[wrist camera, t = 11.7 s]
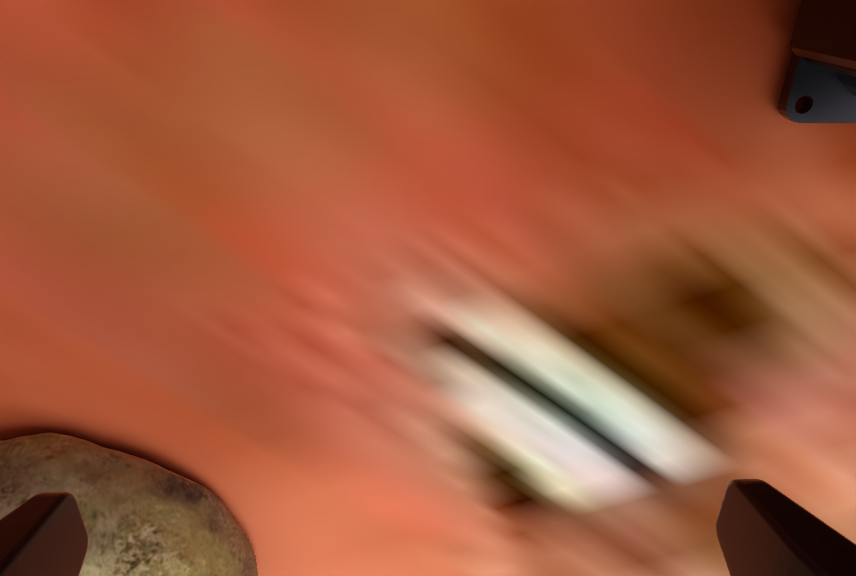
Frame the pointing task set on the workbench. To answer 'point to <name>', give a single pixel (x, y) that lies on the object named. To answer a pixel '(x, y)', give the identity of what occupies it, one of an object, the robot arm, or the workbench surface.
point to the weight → (128, 509)
